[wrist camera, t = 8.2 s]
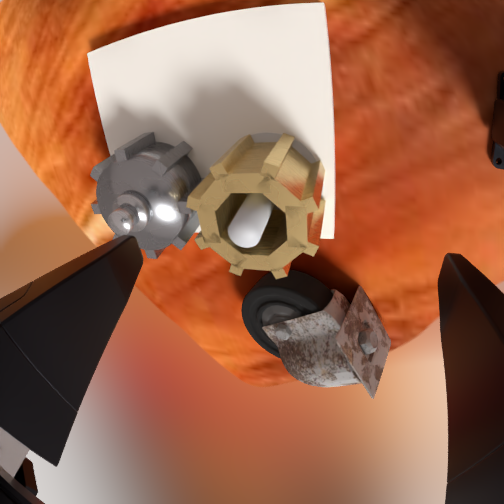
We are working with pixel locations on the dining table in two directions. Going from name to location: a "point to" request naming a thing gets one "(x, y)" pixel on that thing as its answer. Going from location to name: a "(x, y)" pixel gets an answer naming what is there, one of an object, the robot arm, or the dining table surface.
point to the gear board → (226, 93)
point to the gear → (148, 193)
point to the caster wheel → (317, 331)
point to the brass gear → (276, 190)
